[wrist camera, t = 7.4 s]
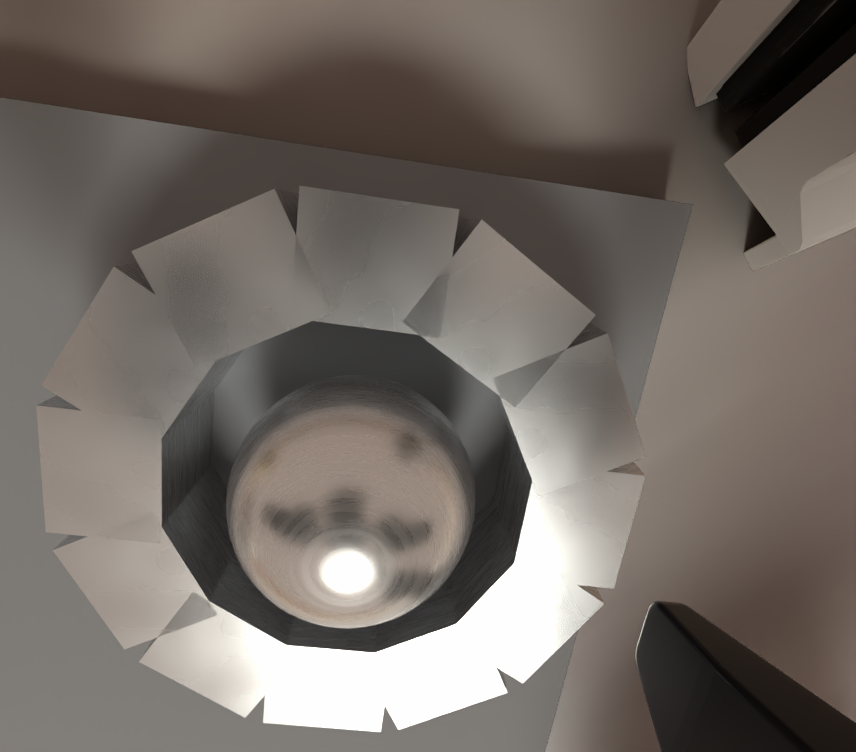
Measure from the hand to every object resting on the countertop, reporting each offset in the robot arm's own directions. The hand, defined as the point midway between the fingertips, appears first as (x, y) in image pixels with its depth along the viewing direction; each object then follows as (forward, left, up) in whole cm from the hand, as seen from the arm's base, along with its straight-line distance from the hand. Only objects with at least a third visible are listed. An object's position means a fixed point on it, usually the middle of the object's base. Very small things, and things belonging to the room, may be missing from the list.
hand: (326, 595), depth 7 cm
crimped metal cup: (0, 0, -5) cm, 5 cm away
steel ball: (0, 0, -3) cm, 3 cm away
